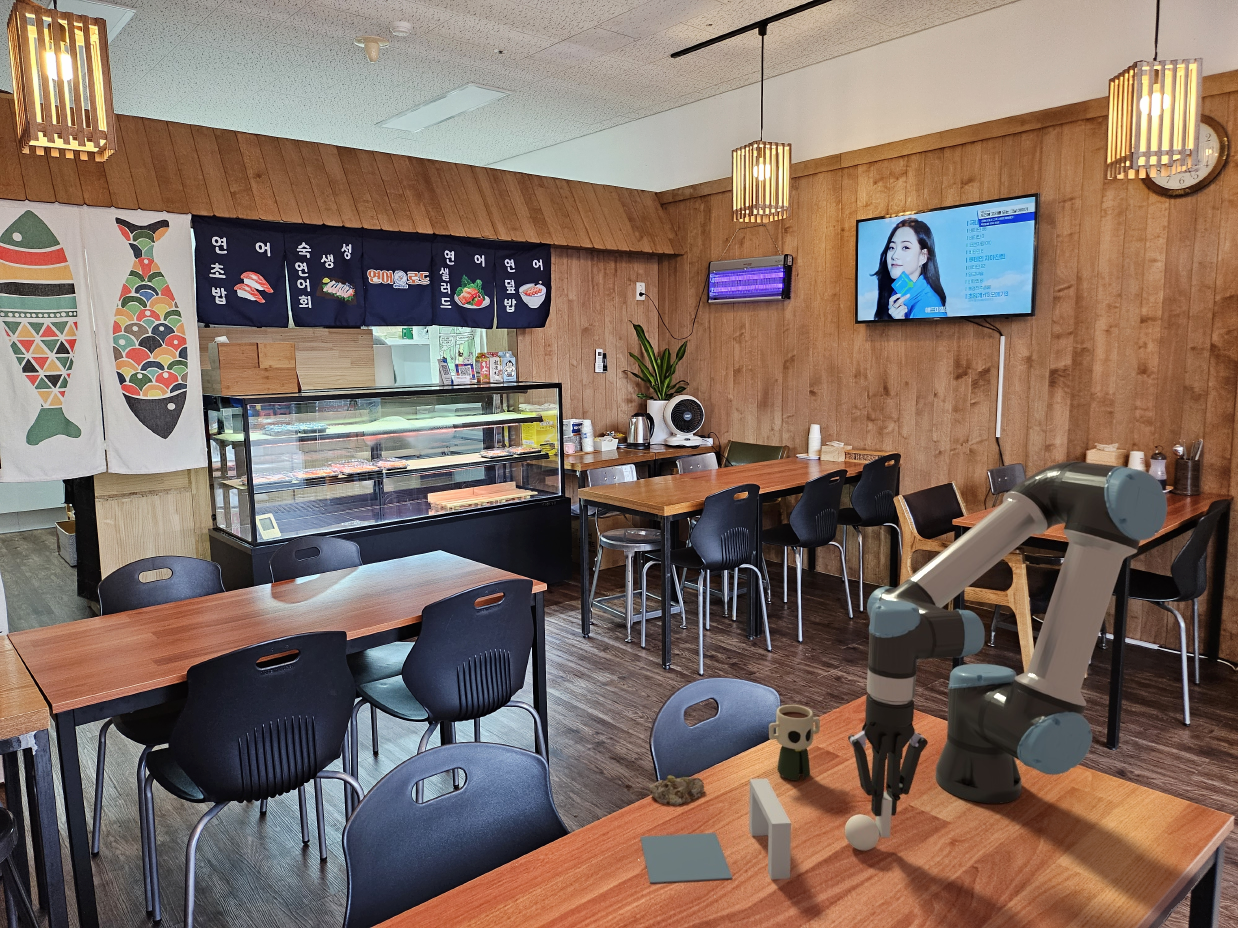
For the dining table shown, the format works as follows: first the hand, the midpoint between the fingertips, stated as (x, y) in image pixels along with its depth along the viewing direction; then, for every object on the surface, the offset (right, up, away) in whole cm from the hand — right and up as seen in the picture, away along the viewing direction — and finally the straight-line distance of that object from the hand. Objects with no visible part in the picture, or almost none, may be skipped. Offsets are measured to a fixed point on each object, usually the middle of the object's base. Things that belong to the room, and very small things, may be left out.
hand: (882, 832), depth 142 cm
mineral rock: (-33, -1, +18) cm, 38 cm away
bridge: (-19, -3, -1) cm, 19 cm away
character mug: (-9, 0, +26) cm, 27 cm away
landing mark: (-33, -3, -2) cm, 33 cm away
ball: (-3, 0, 0) cm, 3 cm away
